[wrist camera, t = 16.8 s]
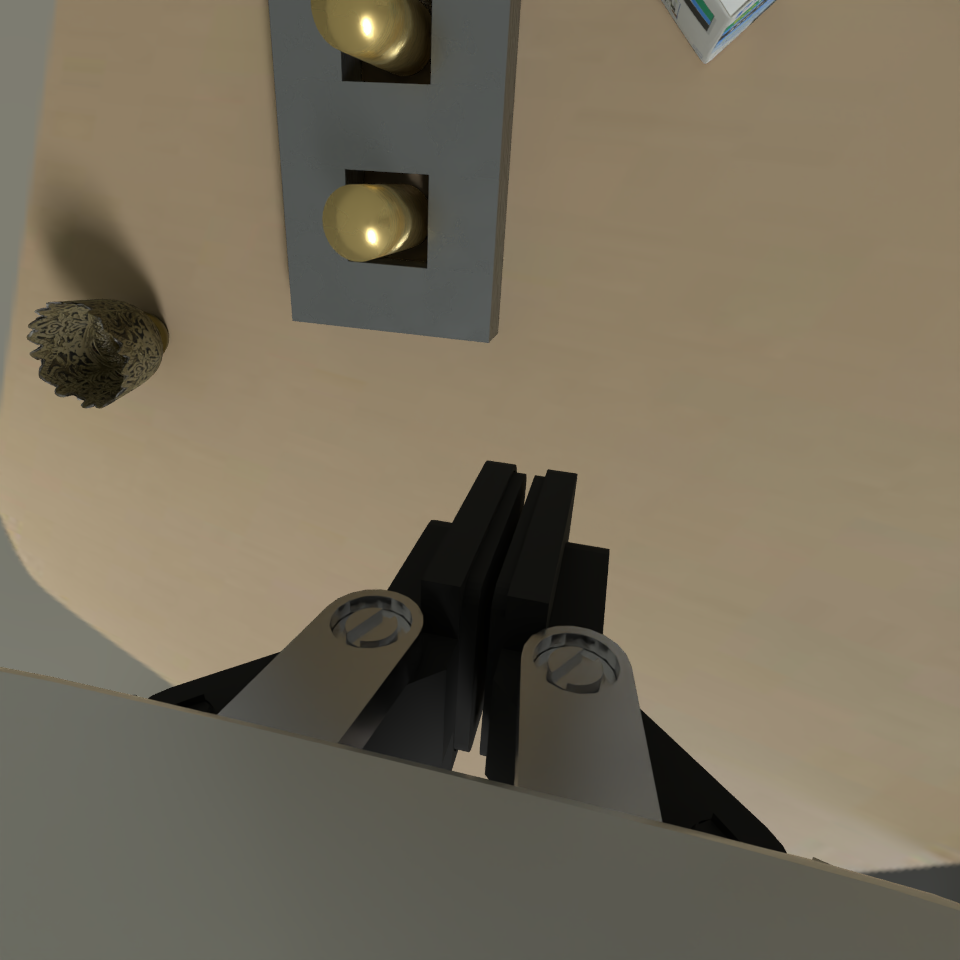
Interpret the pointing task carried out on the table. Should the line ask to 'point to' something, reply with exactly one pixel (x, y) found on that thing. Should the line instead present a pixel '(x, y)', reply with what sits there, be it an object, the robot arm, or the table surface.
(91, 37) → the table surface
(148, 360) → the cup
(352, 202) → the brass cylinder
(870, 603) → the table surface
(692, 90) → the table surface
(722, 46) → the light bulb box
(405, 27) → the seated bushing
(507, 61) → the jig
